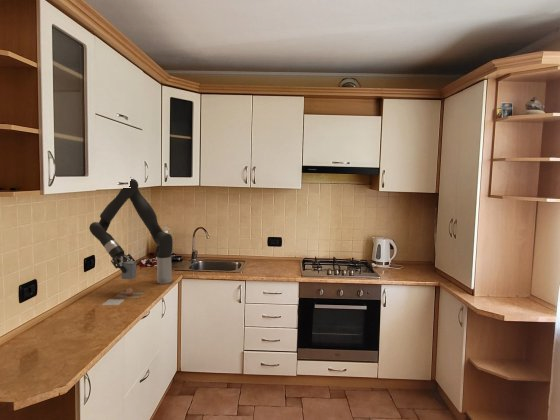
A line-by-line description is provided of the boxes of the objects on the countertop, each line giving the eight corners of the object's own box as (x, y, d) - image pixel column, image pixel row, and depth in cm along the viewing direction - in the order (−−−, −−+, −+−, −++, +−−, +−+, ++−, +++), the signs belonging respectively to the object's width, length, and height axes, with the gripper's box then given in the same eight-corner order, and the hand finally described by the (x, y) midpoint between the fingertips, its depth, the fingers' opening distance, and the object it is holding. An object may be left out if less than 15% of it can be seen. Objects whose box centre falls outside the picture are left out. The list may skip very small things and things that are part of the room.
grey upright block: (125, 276, 224) (125, 261, 223) (136, 276, 224) (136, 261, 223) (121, 278, 218) (121, 263, 217) (132, 279, 218) (132, 263, 217)
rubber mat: (108, 301, 213) (108, 299, 213) (125, 301, 214) (124, 299, 214) (101, 306, 204) (101, 304, 204) (118, 306, 205) (118, 304, 205)
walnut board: (122, 292, 229) (122, 290, 229) (145, 292, 229) (145, 290, 229) (112, 300, 215) (112, 298, 215) (137, 300, 215) (137, 298, 215)
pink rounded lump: (127, 293, 224) (127, 288, 223) (133, 293, 224) (133, 288, 223) (125, 295, 220) (125, 290, 220) (131, 295, 220) (131, 290, 220)
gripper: (108, 247, 215) (125, 269, 212) (126, 243, 228) (142, 263, 226) (101, 255, 217) (118, 277, 214) (119, 251, 230) (135, 271, 228)
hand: (130, 270), depth 220 cm, fingers closed on grey upright block, 8 cm apart
